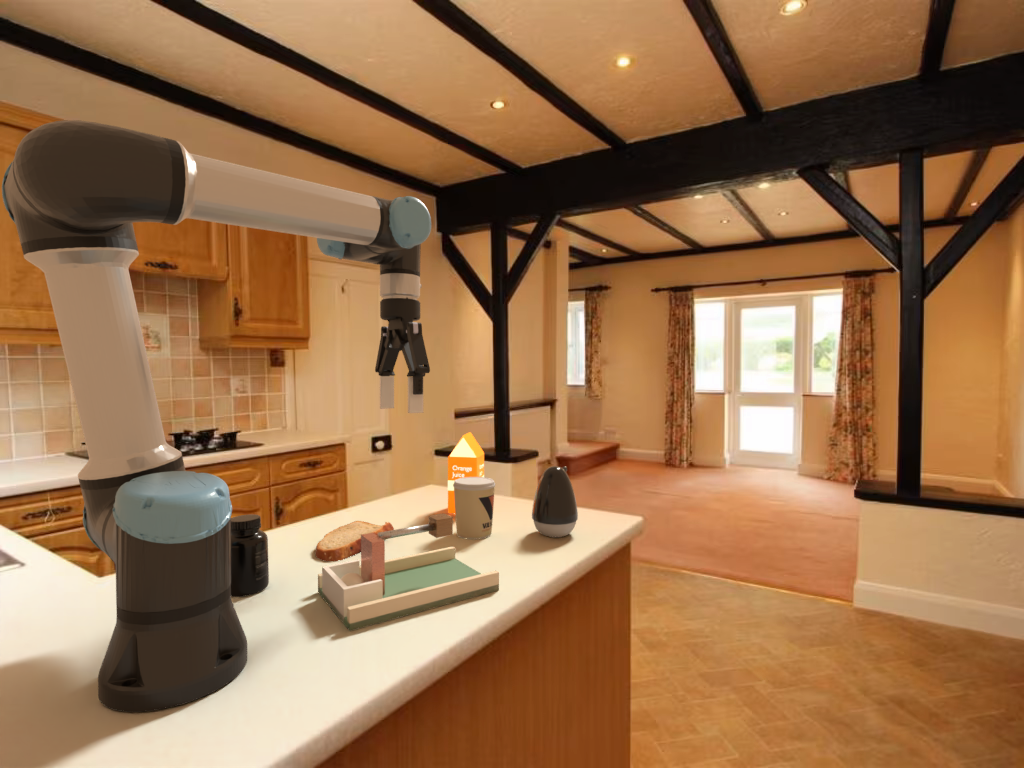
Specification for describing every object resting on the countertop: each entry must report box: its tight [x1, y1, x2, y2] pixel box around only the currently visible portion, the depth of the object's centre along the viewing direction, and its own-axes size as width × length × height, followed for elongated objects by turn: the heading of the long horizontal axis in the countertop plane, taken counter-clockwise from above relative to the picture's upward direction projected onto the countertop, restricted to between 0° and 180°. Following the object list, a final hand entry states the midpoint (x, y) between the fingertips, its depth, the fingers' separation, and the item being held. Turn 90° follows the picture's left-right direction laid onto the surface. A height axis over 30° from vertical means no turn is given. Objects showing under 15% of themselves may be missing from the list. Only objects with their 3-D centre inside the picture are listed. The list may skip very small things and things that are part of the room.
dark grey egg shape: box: [531, 465, 579, 538], centre depth 121 cm, size 10×10×15 cm
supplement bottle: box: [231, 513, 270, 598], centre depth 90 cm, size 7×7×12 cm
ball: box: [341, 573, 364, 586], centre depth 84 cm, size 4×4×4 cm
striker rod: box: [360, 513, 454, 595], centre depth 90 cm, size 14×5×10 cm, turn 125°
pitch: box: [317, 546, 500, 632], centre depth 90 cm, size 25×16×5 cm, turn 125°
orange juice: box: [447, 431, 485, 514], centre depth 142 cm, size 8×9×20 cm
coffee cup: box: [453, 476, 496, 540], centre depth 121 cm, size 9×9×12 cm
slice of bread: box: [314, 520, 395, 562], centre depth 115 cm, size 18×18×4 cm
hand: (400, 410), depth 104 cm, fingers open, 13 cm apart
